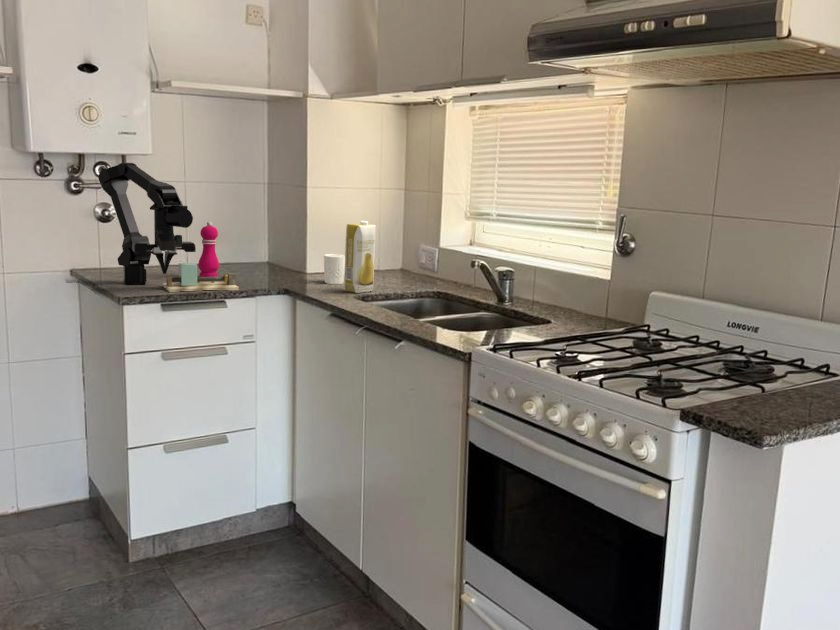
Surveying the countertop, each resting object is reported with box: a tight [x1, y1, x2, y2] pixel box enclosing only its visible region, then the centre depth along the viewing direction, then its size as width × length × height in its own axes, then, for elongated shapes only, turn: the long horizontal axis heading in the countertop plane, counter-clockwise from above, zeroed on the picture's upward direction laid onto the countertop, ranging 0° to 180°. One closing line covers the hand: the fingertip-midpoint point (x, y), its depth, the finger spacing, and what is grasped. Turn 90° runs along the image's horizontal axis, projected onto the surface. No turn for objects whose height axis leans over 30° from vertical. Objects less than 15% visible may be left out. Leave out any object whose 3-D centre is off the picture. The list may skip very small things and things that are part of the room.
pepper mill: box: [197, 220, 220, 277], centre depth 280 cm, size 7×7×20 cm
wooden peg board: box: [162, 272, 240, 293], centre depth 260 cm, size 22×12×5 cm, turn 117°
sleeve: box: [178, 262, 198, 286], centre depth 258 cm, size 5×4×7 cm
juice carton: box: [343, 220, 376, 294], centre depth 268 cm, size 9×8×24 cm
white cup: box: [323, 253, 345, 285], centre depth 284 cm, size 8×8×10 cm
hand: (164, 273), depth 254 cm, fingers closed
